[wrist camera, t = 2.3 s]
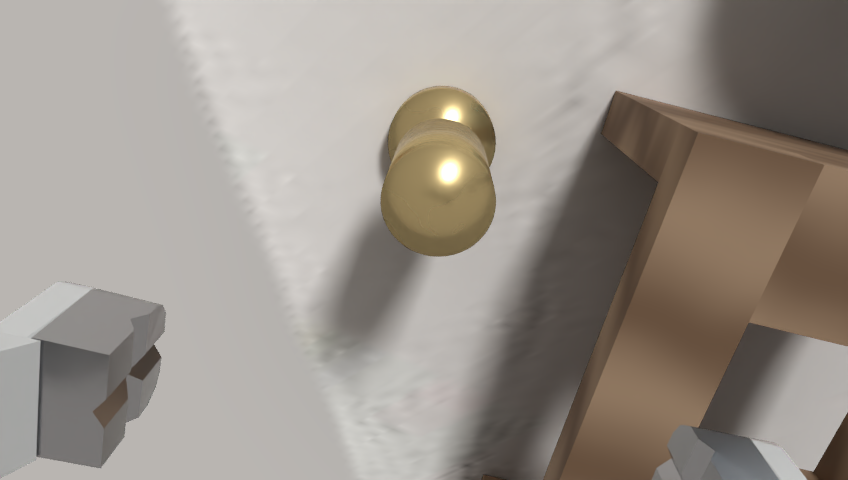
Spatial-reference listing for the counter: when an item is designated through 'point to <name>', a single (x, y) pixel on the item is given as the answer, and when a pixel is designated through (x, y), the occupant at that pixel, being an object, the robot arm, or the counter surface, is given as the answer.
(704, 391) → the keyhole shelf
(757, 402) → the counter surface
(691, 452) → the robot arm
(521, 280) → the counter surface
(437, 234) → the brass peg
